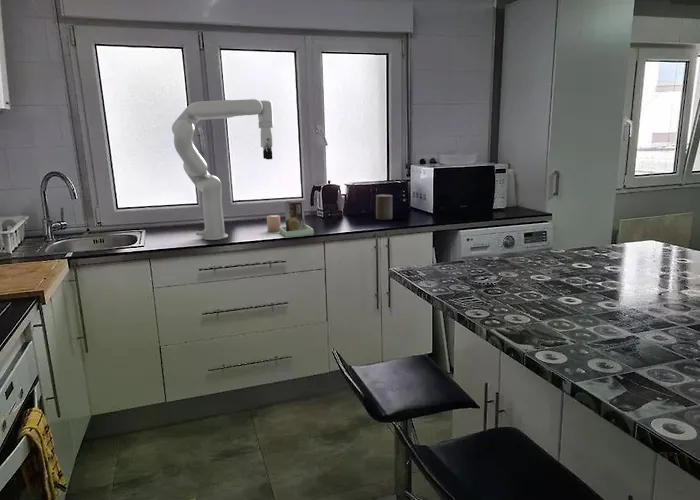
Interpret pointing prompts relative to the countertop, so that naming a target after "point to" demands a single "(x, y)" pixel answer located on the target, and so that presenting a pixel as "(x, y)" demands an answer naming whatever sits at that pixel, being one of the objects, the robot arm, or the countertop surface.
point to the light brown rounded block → (273, 223)
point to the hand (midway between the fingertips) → (267, 158)
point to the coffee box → (294, 215)
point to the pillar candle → (384, 207)
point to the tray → (297, 232)
